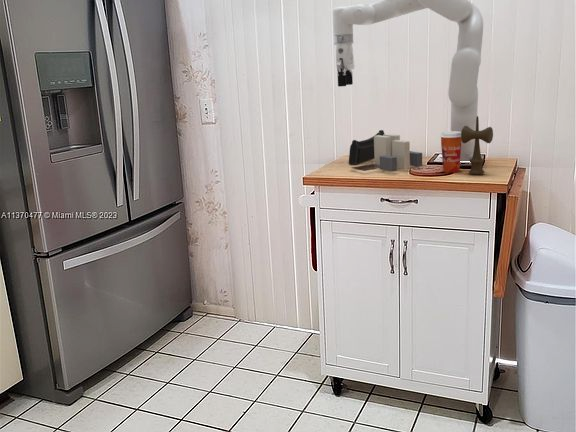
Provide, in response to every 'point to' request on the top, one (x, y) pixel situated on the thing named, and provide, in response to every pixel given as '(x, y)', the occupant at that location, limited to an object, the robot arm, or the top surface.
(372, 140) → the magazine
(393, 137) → the white book
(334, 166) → the top surface
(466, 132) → the kendama
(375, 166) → the shelf board
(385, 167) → the grey book
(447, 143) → the paper cup
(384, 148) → the white book
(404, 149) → the white book
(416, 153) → the grey book
